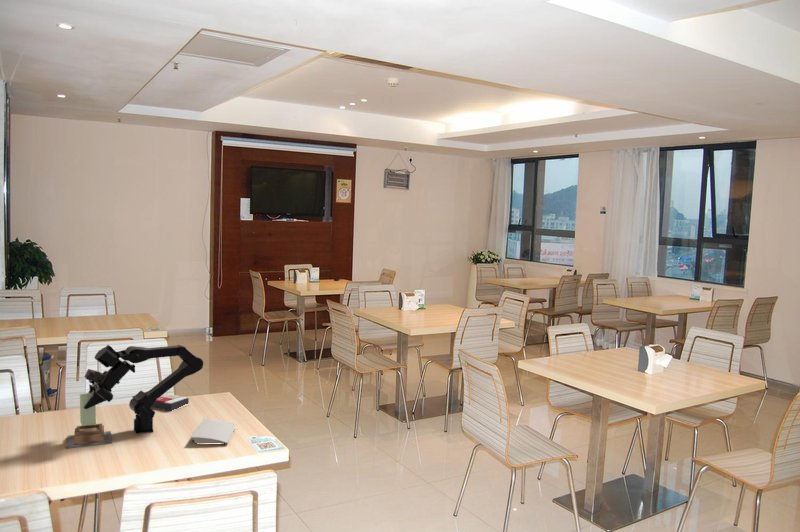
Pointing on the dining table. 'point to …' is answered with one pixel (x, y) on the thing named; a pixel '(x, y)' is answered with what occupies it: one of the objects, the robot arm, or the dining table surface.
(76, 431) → the base socket
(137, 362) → the robot arm
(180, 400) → the grey and red box
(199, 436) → the book
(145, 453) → the dining table surface
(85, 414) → the pillar
